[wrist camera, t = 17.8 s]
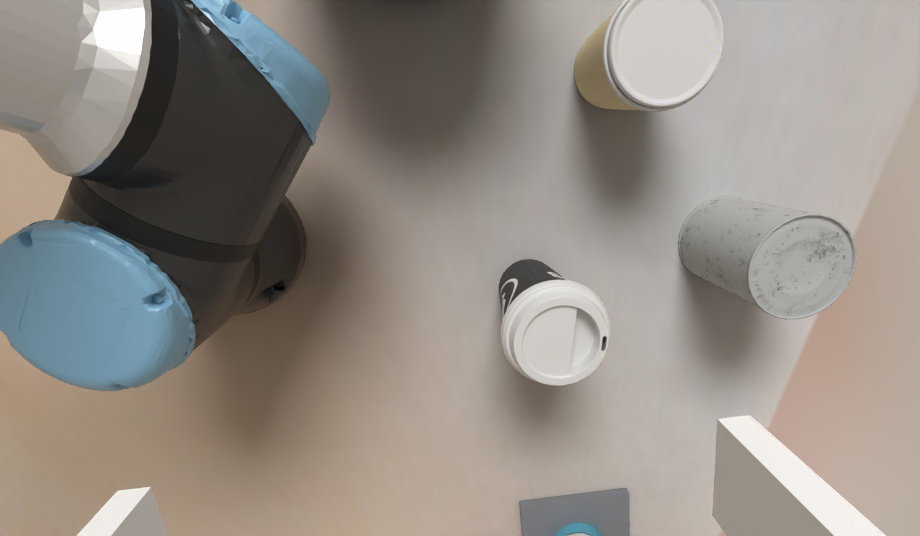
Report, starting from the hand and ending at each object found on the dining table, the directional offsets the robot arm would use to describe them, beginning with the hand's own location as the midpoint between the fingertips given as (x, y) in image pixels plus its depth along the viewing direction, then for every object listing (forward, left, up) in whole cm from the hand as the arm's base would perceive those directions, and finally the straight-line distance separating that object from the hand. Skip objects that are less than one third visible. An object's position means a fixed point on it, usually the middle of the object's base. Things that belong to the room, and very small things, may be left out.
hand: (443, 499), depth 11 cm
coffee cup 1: (+9, -9, -41) cm, 43 cm away
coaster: (+13, -45, -41) cm, 62 cm away
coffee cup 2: (+19, +13, -41) cm, 47 cm away
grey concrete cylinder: (+31, -6, -41) cm, 52 cm away
